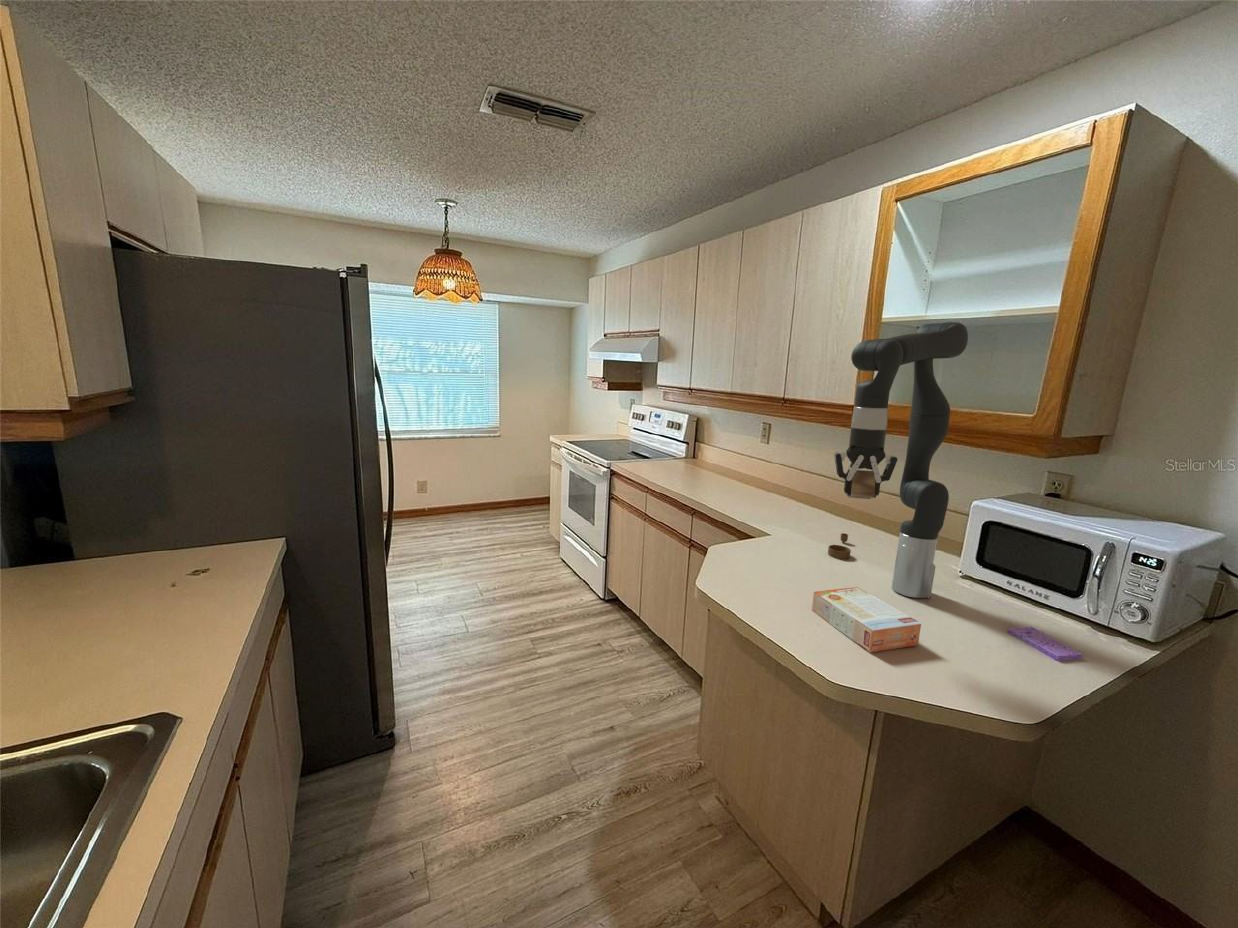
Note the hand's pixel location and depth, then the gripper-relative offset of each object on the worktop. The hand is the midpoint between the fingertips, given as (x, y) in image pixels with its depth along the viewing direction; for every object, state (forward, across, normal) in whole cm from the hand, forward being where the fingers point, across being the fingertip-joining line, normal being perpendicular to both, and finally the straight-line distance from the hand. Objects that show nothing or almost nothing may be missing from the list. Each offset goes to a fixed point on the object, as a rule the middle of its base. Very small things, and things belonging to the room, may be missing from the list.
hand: (860, 495), depth 122 cm
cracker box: (+30, +2, -6) cm, 31 cm away
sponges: (+34, -44, -3) cm, 56 cm away
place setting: (+34, -8, -49) cm, 61 cm away
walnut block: (0, 0, 0) cm, 0 cm away
